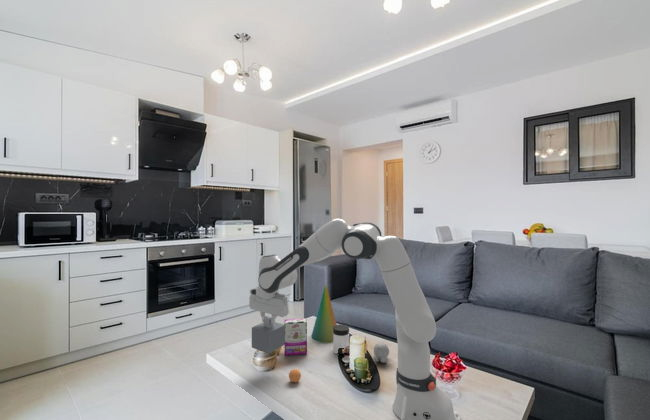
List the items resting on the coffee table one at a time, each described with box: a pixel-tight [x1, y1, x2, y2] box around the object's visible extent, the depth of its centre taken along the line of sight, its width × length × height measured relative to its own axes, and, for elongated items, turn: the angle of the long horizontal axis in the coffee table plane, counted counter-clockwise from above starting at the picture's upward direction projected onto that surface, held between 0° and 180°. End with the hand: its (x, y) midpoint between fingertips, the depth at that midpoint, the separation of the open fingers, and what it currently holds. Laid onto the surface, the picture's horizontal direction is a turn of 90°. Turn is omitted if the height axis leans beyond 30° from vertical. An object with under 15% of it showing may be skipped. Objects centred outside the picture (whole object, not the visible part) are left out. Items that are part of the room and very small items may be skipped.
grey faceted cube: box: [251, 314, 285, 355], centre depth 134 cm, size 10×10×13 cm
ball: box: [288, 368, 302, 383], centre depth 127 cm, size 5×5×5 cm
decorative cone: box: [311, 283, 338, 344], centre depth 172 cm, size 16×16×30 cm
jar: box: [332, 324, 350, 355], centre depth 154 cm, size 9×8×12 cm
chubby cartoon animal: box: [372, 342, 390, 364], centre depth 145 cm, size 7×12×8 cm, turn 155°
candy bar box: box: [283, 318, 308, 357], centre depth 152 cm, size 11×5×16 cm, turn 97°
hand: (268, 322), depth 134 cm, fingers closed on grey faceted cube, 3 cm apart
